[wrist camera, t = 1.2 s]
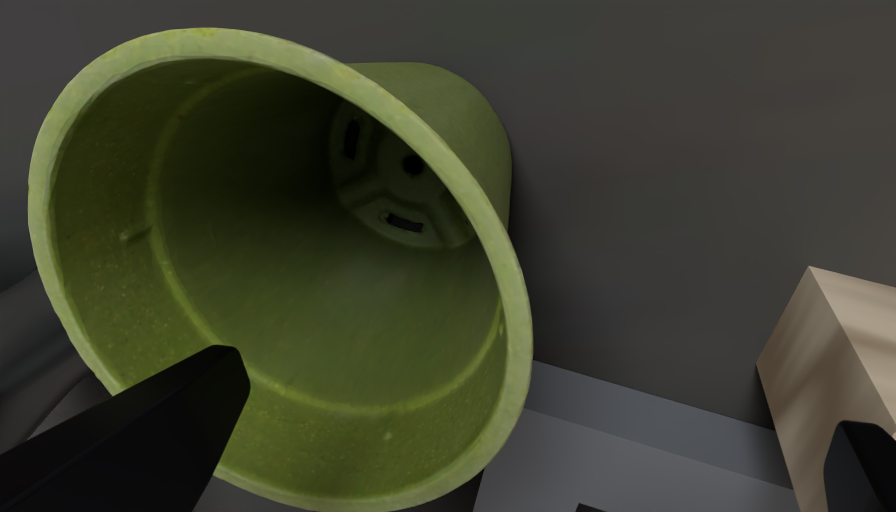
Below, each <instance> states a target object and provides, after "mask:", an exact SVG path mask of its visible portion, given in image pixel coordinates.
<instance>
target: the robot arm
mask: <svg viewBox="0 0 896 512" xmlns="http://www.w3.org/2000/svg"><path fill="white" fill-rule="evenodd" d="M250 389H251V383H250V379H249V376H248V374H247V371H246V368H245V365H244V362H243V360H242V357H241V354H240V352H239V350H238V349H237V348H236V347H233V346H226V345H218V344H217V345H211V346H209V347H207V348H205V349H203V350H201V351H199V352H197V353H195V354H193V355H191V356H189V357H187V358H186V359H184V360H182V361H180V362H178V363H176V364H174V365H172V366H170V367H168V368H166V369H164V370H162V371H160V372H158V373H157V374H155V375H153V376H151V377H149V378H147V379H145V380H143V381H141V382H139V383H137V384H135V385H133V386H131V387H130V388H128V389H126V390H124V391H122V392H120V393H118V394H116V395H114V396H112V397H110V398H108V399H106V400H104V401H102V402H101V403H99V404H97V405H95V406H93V407H91V408H89V409H87V410H85V411H83V412H81V413H79V414H77V415H75V416H74V417H72V418H70V419H68V420H66V421H64V422H62V423H60V424H58V425H56V426H54V427H52V428H50V429H48V430H46V431H45V432H43V433H41V434H39V435H37V436H35V437H33V438H31V439H29V440H27V441H25V442H23V443H21V444H19V445H18V446H16V447H14V448H12V449H10V450H8V451H6V452H4V453H2V454H0V512H192V511H193V509H194V507H195V506H196V504H197V502H198V500H199V499H200V497H201V495H202V493H203V492H204V490H205V488H206V486H207V485H208V483H209V481H210V479H211V477H212V475H213V473H214V471H215V469H216V467H217V465H218V463H219V461H220V459H221V457H222V454H223V452H224V450H225V448H226V446H227V443H228V441H229V439H230V437H231V435H232V432H233V430H234V428H235V426H236V424H237V422H238V419H239V417H240V415H241V413H242V411H243V408H244V406H245V404H246V402H247V400H248V397H249V394H250ZM823 479H824V487H825V493H826V500H827V507H828V512H896V440H895V439H894V438H893V437H892V436H891V435H890V434H888V433H887V432H886V431H885V430H884V429H883V428H882V427H880V426H879V425H877V424H874V423H868V422H860V421H852V420H842V421H840V422H839V423H838V424H837V426H836V428H835V431H834V434H833V437H832V440H831V443H830V446H829V449H828V452H827V455H826V458H825V462H824V467H823Z"/></svg>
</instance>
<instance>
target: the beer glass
mask: <svg viewBox="0 0 896 512" xmlns="http://www.w3.org/2000/svg"><path fill="white" fill-rule="evenodd" d="M92 372H93V371H92V370H91V369H90V368H89V367H88V366H87V364H86V363H85V362H84V360H83V359H82V358H81V356H80V354H79V353H78V351H77V349H76V348H75V346H74V345H73V343H72V342H71V340H70V338H69V336H68V334H67V332H66V330H65V328H64V326H63V325H62V322H61V320H60V318H59V317H58V315H57V314H56V312H55V310H54V308H53V306H52V304H51V301H50V299H49V297H48V295H47V293H46V290H45V288H44V285H43V282H42V279H41V277H40V274H39V271H38V267H35V268H34V269H33V270H32V271H31V272H30V273H28V274H27V275H26V276H25V277H23V278H22V279H20V280H19V281H18V282H16V283H15V284H13V285H11V286H10V287H8V288H7V289H5V290H3V291H1V292H0V454H2V453H4V452H6V451H8V450H10V449H12V448H14V447H16V446H18V445H19V444H21V443H23V442H25V441H27V440H28V438H29V437H30V436H31V435H32V434H33V433H34V432H35V430H36V429H37V428H38V427H39V426H40V425H41V423H42V422H43V421H44V420H45V419H46V418H47V416H48V415H49V414H50V413H51V412H52V411H53V409H54V408H55V407H56V406H57V405H58V404H59V403H60V402H61V401H62V399H63V398H64V397H65V396H66V395H67V394H68V393H69V392H70V391H71V390H72V389H73V388H74V387H75V386H76V385H77V384H78V383H80V382H81V381H82V380H83V379H84V378H85V377H87V376H88V375H89V374H91V373H92Z"/></svg>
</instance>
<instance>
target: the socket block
mask: <svg viewBox="0 0 896 512" xmlns="http://www.w3.org/2000/svg"><path fill="white" fill-rule="evenodd" d="M579 503H581V504H584V505H587V506H590V507H594V508H597V509H600V510H603V511H606V512H801V511H800V508H799V505H798V501H797V498H796V495H795V491H794V488H793V485H792V481H791V478H790V475H789V472H788V468H787V465H786V462H785V458H784V455H783V452H782V448H781V445H780V442H779V438H778V435H777V432H776V431H774V430H770V429H767V428H764V427H760V426H757V425H753V424H750V423H746V422H743V421H740V420H736V419H733V418H729V417H726V416H723V415H719V414H716V413H712V412H709V411H705V410H702V409H699V408H695V407H692V406H688V405H685V404H682V403H678V402H675V401H671V400H668V399H664V398H661V397H658V396H654V395H651V394H647V393H644V392H641V391H637V390H634V389H630V388H627V387H624V386H620V385H617V384H613V383H610V382H606V381H603V380H600V379H596V378H593V377H589V376H586V375H583V374H579V373H576V372H572V371H569V370H565V369H562V368H559V367H555V366H552V365H548V364H545V363H542V362H538V361H535V360H533V361H532V371H531V380H530V385H529V390H528V394H527V397H526V400H525V404H524V407H523V410H522V412H521V414H520V417H519V419H518V421H517V423H516V426H515V428H514V429H513V431H512V433H511V434H510V436H509V438H508V439H507V441H506V443H505V444H504V446H503V447H502V448H501V450H500V451H499V452H498V453H497V455H496V456H495V457H494V458H493V459H492V461H491V462H490V463H489V464H488V465H487V466H486V467H485V468H484V472H483V476H482V479H481V483H480V486H479V490H478V494H477V497H476V501H475V505H474V508H473V512H575V511H576V508H577V506H578V504H579Z"/></svg>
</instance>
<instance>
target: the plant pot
mask: <svg viewBox="0 0 896 512" xmlns="http://www.w3.org/2000/svg"><path fill="white" fill-rule="evenodd" d="M353 120H354V121H356V122H357V123H358V125H359V127H360V132H359V136H358V139H357V145H356V153H355V158H354V159H350V158H349V157H348V156H347V155H346V154H345V149H344V147H345V136H346V132H347V129H348V127H349V124H350V123H351V121H353ZM412 155H414V156H417V157H418V158H419V159H420V160H421V162H422V164H423V169H422V171H421V173H419V174H417V175H413V174H410V173H409V172H408V171H407V170H406V168H405V166H404V162H405V159H406V158H407V157H409V156H412ZM511 178H512V158H511V150H510V144H509V141H508V137H507V134H506V132H505V129H504V127H503V125H502V124H501V122H500V120H499V118H498V116H497V115H496V113H495V112H494V110H493V109H492V107H491V106H490V104H489V103H488V102H487V100H486V99H485V98H484V96H483V95H482V94H481V93H480V92H479V91H478V90H477V89H476V88H475V87H474V86H472V85H471V84H470V83H468V82H467V81H466V80H464V79H463V78H461V77H459V76H458V75H456V74H454V73H452V72H450V71H448V70H445V69H443V68H441V67H437V66H433V65H430V64H424V63H414V62H393V63H353V64H343V63H341V62H339V61H338V60H336V59H334V58H332V57H330V56H328V55H326V54H323V53H321V52H318V51H316V50H313V49H311V48H308V47H305V46H303V45H300V44H298V43H295V42H292V41H289V40H285V39H281V38H278V37H274V36H270V35H266V34H261V33H256V32H249V31H242V30H235V29H224V28H190V29H175V30H168V31H163V32H158V33H153V34H150V35H146V36H142V37H139V38H136V39H133V40H131V41H128V42H125V43H123V44H121V45H119V46H117V47H115V48H113V49H112V50H110V51H108V52H107V53H105V54H103V55H102V56H100V57H98V58H97V59H95V60H94V61H93V62H91V63H90V64H89V65H87V66H86V67H85V68H83V69H82V70H81V71H80V72H79V73H78V75H77V76H76V77H75V78H74V79H73V80H72V81H70V82H69V83H68V84H67V86H66V87H65V88H64V90H63V91H62V93H61V94H60V95H59V97H58V98H57V100H56V102H55V103H54V105H53V106H52V108H51V110H50V111H49V113H48V115H47V116H46V118H45V120H44V122H43V125H42V127H41V129H40V132H39V134H38V136H37V139H36V142H35V146H34V150H33V154H32V159H31V164H30V172H29V180H28V182H29V195H28V225H29V231H30V236H31V241H32V246H33V251H34V256H35V259H36V263H37V267H38V271H39V274H40V277H41V279H42V282H43V285H44V288H45V290H46V293H47V295H48V297H49V299H50V301H51V304H52V306H53V308H54V310H55V312H56V314H57V315H58V317H59V318H60V320H61V322H62V325H63V326H64V328H65V330H66V332H67V334H68V336H69V338H70V340H71V342H72V343H73V345H74V346H75V348H76V349H77V351H78V353H79V354H80V356H81V358H82V359H83V360H84V362H85V363H86V364H87V366H88V367H89V368H90V369H91V370H92V371H93V372H94V373H95V375H96V376H97V378H98V379H100V381H101V382H102V383H103V385H104V386H105V387H106V388H107V390H108V391H109V392H110V394H111V395H112V396H114V395H116V394H118V393H120V392H122V391H124V390H126V389H128V388H130V387H131V386H133V385H135V384H137V383H139V382H141V381H143V380H145V379H147V378H149V377H151V376H153V375H155V374H157V373H158V372H160V371H162V370H164V369H166V368H168V367H170V366H172V365H174V364H176V363H178V362H180V361H182V360H184V359H186V358H187V357H189V356H191V355H193V354H195V353H197V352H199V351H201V350H203V349H205V348H207V347H209V346H211V345H217V344H218V345H226V346H233V347H236V348H237V349H238V350H239V352H240V354H241V357H242V360H243V362H244V365H245V368H246V371H247V374H248V376H249V379H250V383H251V389H250V394H249V397H248V400H247V402H246V404H245V406H244V408H243V411H242V413H241V415H240V417H239V419H238V422H237V424H236V426H235V428H234V430H233V432H232V435H231V437H230V439H229V441H228V443H227V446H226V448H225V450H224V452H223V454H222V457H221V459H220V461H219V463H218V465H217V467H216V469H215V471H214V473H213V475H214V476H216V477H218V478H220V479H223V480H225V481H227V482H229V483H231V484H233V485H235V486H237V487H240V488H242V489H244V490H247V491H249V492H251V493H254V494H256V495H259V496H262V497H265V498H268V499H271V500H274V501H277V502H280V503H283V504H286V505H290V506H295V507H299V508H303V509H306V510H313V511H320V512H388V511H395V510H400V509H405V508H409V507H413V506H417V505H420V504H423V503H426V502H429V501H431V500H434V499H436V498H439V497H441V496H443V495H445V494H447V493H449V492H451V491H452V490H454V489H456V488H458V487H459V486H461V485H462V484H464V483H466V482H467V481H469V480H470V479H472V478H473V477H474V476H475V475H477V474H478V473H479V472H480V471H481V470H483V469H484V468H485V467H486V466H487V465H488V464H489V463H490V462H491V461H492V459H493V458H494V457H495V456H496V455H497V453H498V452H499V451H500V450H501V448H502V447H503V446H504V444H505V443H506V441H507V439H508V438H509V436H510V434H511V433H512V431H513V429H514V428H515V426H516V423H517V421H518V419H519V417H520V414H521V412H522V410H523V407H524V404H525V400H526V397H527V394H528V390H529V385H530V380H531V371H532V361H533V325H532V314H531V308H530V301H529V296H528V292H527V288H526V284H525V280H524V276H523V273H522V269H521V267H520V264H519V261H518V258H517V255H516V252H515V249H514V247H513V245H512V242H511V240H510V238H509V235H508V221H509V206H510V191H511ZM363 206H365V207H363ZM390 213H392V214H394V215H396V216H398V217H400V218H403V219H406V220H409V221H412V222H415V223H423V227H422V232H421V233H419V232H411V231H407V230H404V229H402V228H398V227H395V226H393V225H390V224H389V223H388V222H387V220H386V219H387V217H388V216H389V214H390ZM465 220H467V222H468V225H466V221H465ZM468 227H469V228H468ZM469 230H470V231H469Z"/></svg>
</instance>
